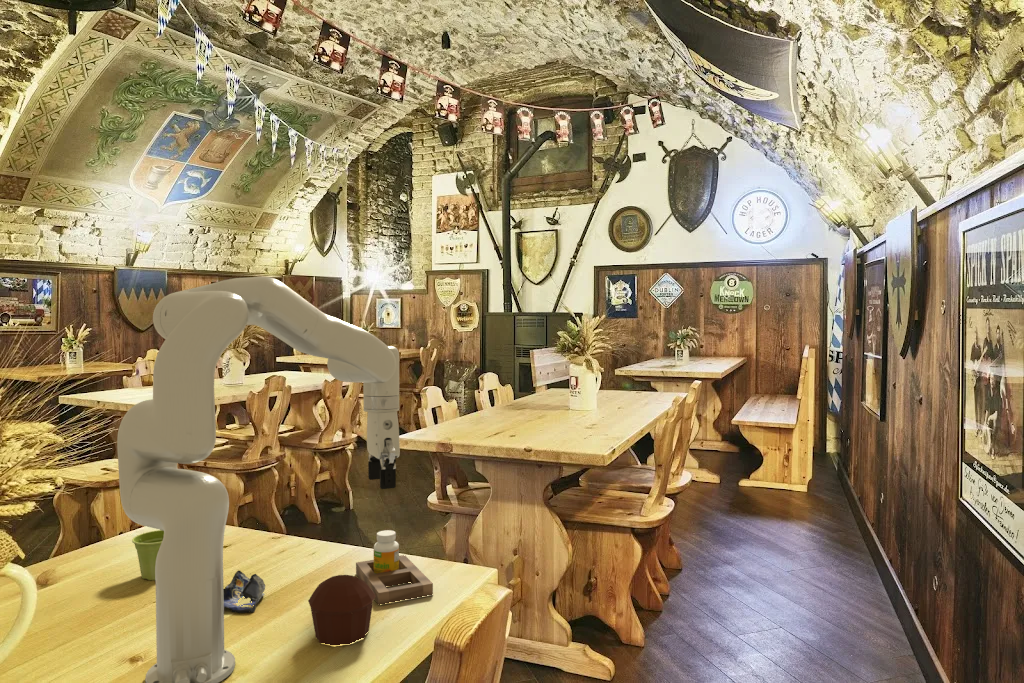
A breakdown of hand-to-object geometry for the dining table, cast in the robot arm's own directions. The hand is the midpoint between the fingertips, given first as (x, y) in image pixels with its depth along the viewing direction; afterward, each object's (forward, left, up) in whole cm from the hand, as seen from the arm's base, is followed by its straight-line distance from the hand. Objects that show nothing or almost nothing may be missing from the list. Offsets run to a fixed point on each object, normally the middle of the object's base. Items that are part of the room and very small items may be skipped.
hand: (381, 483), depth 145 cm
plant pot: (+24, +43, -21) cm, 54 cm away
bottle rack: (-4, -1, -21) cm, 21 cm away
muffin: (-23, +13, -21) cm, 34 cm away
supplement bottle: (0, -1, -21) cm, 21 cm away
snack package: (0, +28, -21) cm, 35 cm away
